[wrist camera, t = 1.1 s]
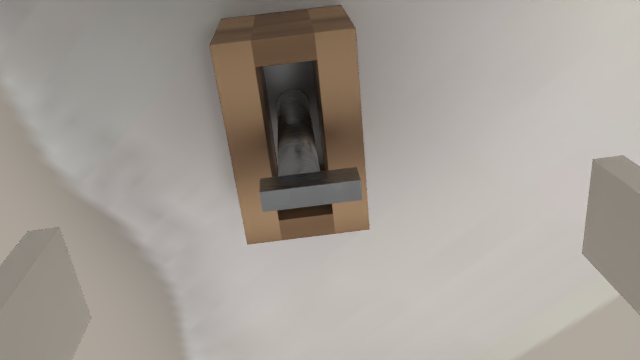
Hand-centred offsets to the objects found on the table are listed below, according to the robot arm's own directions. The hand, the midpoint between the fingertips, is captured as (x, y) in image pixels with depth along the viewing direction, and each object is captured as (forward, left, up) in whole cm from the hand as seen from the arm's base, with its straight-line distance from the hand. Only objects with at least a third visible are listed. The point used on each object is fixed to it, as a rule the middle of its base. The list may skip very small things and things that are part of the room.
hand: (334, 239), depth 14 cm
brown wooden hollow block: (+3, -1, -19) cm, 19 cm away
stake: (+3, -1, -19) cm, 19 cm away
